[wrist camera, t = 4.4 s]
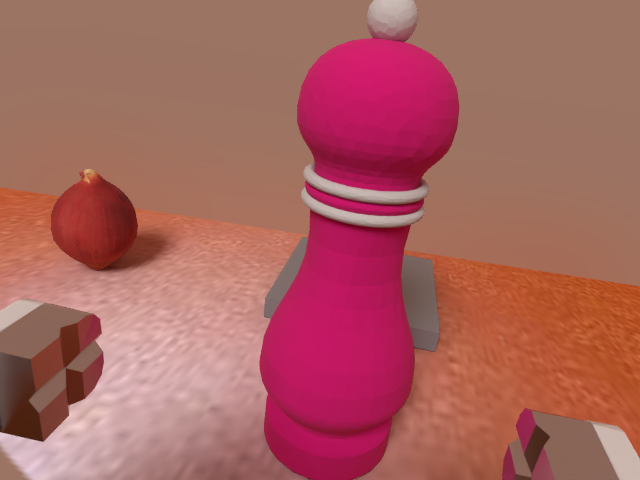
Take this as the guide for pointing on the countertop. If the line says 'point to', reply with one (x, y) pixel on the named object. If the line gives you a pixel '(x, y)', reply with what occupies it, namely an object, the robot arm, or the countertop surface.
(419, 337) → the silver flat square block
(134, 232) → the onion
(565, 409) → the countertop surface
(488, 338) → the countertop surface
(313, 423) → the pepper mill
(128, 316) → the countertop surface
